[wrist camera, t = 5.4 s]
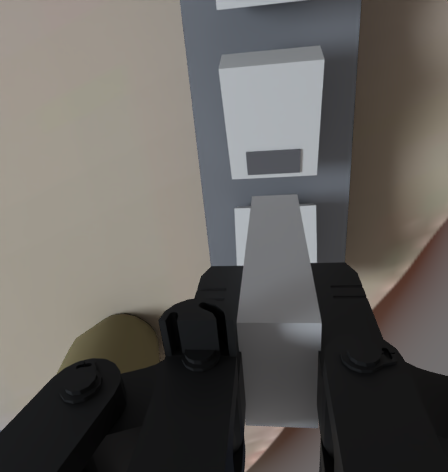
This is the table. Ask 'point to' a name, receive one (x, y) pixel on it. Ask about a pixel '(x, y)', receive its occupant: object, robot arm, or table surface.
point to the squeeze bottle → (117, 344)
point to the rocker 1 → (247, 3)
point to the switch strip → (331, 124)
